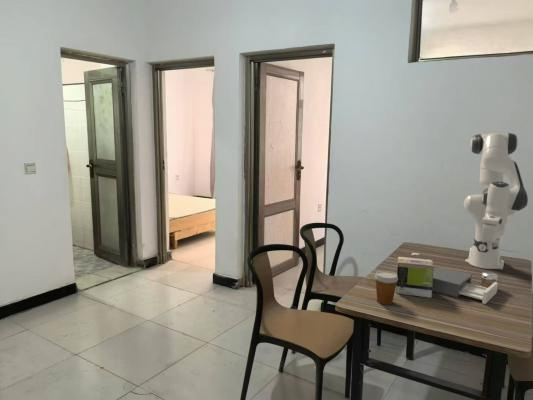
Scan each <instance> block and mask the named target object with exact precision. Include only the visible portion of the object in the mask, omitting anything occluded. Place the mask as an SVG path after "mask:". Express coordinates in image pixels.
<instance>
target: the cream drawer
mask: <svg viewBox="0 0 533 400" xmlns="http://www.w3.org/2000/svg"><path fill="white" fill-rule="evenodd" d="M497 292H498V282H494V283H493V284H492V285H491V286H490V287H488V288H486V287H482V286H481V285H477V284H472V283H471V284H470V283H466V282H464V283H463V284H462V285H460V286H459V294H461V295H463V296H466V297H470V298H473V299H475V300H476V299H477V300H481V301H482V303H481V304H483V305H486V304H487V303H488V302H489V301H490V300H491V299H492V298H493V297H494V296H495V295H496V294H497Z"/></svg>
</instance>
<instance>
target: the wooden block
mask: <svg viewBox="0 0 533 400" xmlns="http://www.w3.org/2000/svg"><path fill="white" fill-rule="evenodd" d="M497 281H498V279H497V280H496V281H490V280H486V279H483V278H482V277H481V285H480V286H482V287H486V288H488V287H490V286H491V285H492V284H493V283H494V282H497Z"/></svg>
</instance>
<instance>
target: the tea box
mask: <svg viewBox="0 0 533 400" xmlns="http://www.w3.org/2000/svg"><path fill="white" fill-rule="evenodd" d="M396 265H397V266H396V274H397V277H398V281H397V283H396V288H395V293H396V294H400V295H405V296H407V295H409V296H413V297H414V296H417V297H422V298H430V299H432V295H433V291H432V284H433V271H434V270H435V269H434V267H435V266H434V263H433V260H432V259H428V258H427V259H425V258H416V257H405V256H398V257H397V264H396Z"/></svg>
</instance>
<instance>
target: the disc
mask: <svg viewBox="0 0 533 400" xmlns="http://www.w3.org/2000/svg"><path fill="white" fill-rule="evenodd" d="M482 278H483V279H486V280H490V281H496V280H497V281H498V278H499V275H498V274H497V273H496V272H491V271H483V272H482V273H481V279H482Z"/></svg>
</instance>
